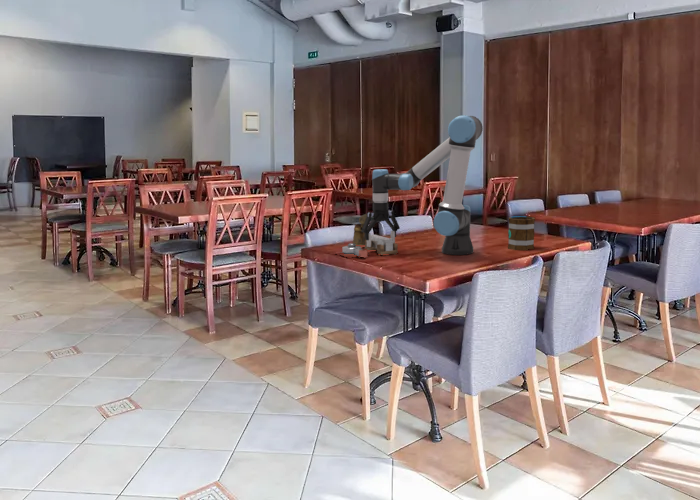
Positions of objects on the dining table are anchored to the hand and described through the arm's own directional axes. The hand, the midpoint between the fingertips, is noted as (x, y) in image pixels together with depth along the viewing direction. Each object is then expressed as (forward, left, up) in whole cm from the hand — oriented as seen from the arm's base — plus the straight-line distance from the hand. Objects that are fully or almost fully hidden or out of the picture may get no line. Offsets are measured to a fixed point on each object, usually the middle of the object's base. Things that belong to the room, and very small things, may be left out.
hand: (380, 245), depth 316 cm
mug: (-25, -65, -4) cm, 70 cm away
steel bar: (+1, 0, -1) cm, 2 cm away
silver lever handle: (-2, +15, -3) cm, 15 cm away
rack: (0, 0, -3) cm, 3 cm away
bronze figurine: (+19, 0, -4) cm, 19 cm away
